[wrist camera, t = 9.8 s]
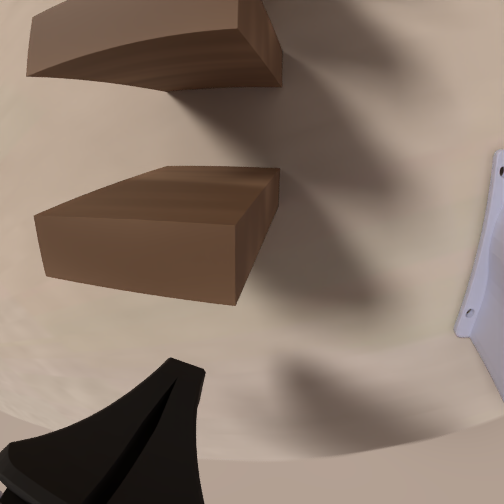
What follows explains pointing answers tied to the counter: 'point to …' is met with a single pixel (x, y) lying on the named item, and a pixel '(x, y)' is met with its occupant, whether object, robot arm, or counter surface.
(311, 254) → the counter surface
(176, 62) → the domino
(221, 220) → the domino
